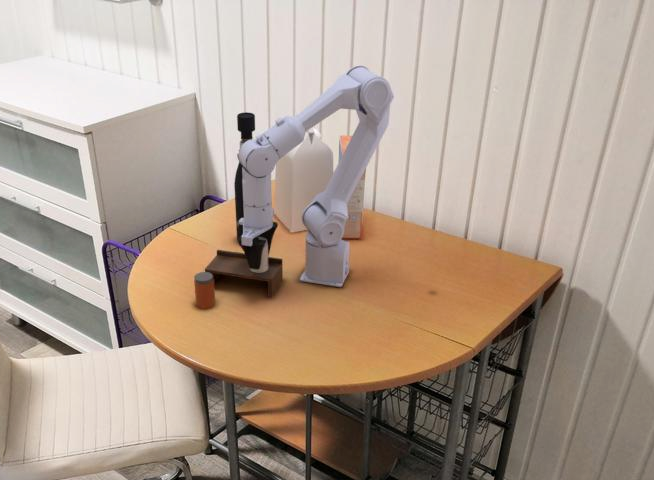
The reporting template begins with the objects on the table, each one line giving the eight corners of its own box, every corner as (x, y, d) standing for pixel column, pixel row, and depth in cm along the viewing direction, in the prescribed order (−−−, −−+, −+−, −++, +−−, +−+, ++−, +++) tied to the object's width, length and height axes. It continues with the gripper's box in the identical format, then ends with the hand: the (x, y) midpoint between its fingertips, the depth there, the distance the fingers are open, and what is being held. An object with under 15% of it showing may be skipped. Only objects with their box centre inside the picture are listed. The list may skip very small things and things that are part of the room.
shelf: (282, 281, 162) (282, 258, 159) (272, 298, 156) (271, 275, 153) (218, 271, 165) (217, 249, 162) (206, 287, 160) (204, 265, 156)
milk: (273, 213, 190) (272, 111, 175) (314, 206, 194) (316, 106, 179) (291, 232, 181) (291, 127, 166) (334, 224, 185) (337, 120, 170)
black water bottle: (268, 238, 179) (266, 113, 161) (253, 248, 174) (249, 121, 157) (247, 231, 182) (242, 108, 164) (231, 241, 177) (225, 116, 160)
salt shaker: (270, 265, 158) (270, 237, 154) (265, 274, 155) (264, 246, 151) (253, 262, 159) (252, 235, 155) (247, 271, 156) (245, 243, 152)
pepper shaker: (218, 300, 155) (216, 273, 151) (211, 310, 152) (209, 282, 148) (200, 297, 156) (198, 270, 152) (193, 307, 153) (190, 279, 149)
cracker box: (362, 239, 178) (367, 155, 166) (337, 239, 178) (340, 155, 166) (359, 215, 189) (363, 134, 177) (335, 215, 190) (338, 134, 177)
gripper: (250, 185, 155) (252, 244, 163) (225, 213, 144) (229, 275, 152) (282, 189, 153) (283, 248, 161) (260, 218, 142) (261, 280, 150)
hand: (259, 261), depth 156 cm, fingers open, 5 cm apart
